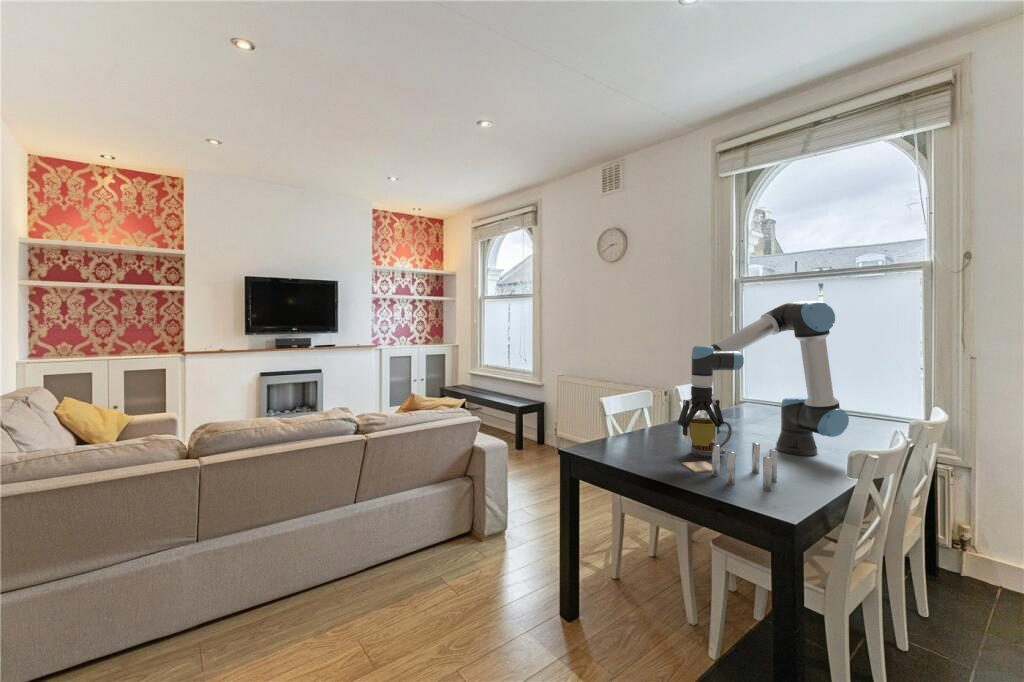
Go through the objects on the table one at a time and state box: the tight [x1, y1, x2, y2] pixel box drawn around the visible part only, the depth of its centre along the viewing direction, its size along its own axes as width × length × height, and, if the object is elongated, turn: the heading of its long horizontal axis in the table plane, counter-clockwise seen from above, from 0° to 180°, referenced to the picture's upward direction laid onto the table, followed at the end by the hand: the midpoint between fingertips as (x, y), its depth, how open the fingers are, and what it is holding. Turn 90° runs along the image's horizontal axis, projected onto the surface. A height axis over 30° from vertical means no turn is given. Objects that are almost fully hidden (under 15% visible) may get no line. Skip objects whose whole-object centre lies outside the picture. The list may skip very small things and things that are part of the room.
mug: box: [690, 417, 733, 459], centre depth 191 cm, size 16×11×15 cm
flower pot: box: [688, 418, 715, 446], centre depth 175 cm, size 9×9×9 cm
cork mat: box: [681, 460, 712, 473], centre depth 175 cm, size 10×10×1 cm
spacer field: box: [711, 441, 778, 493], centre depth 160 cm, size 18×19×11 cm
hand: (700, 443), depth 175 cm, fingers closed on flower pot, 10 cm apart
